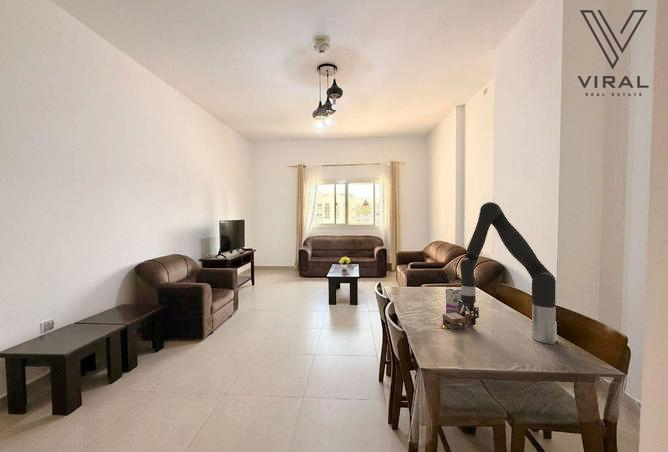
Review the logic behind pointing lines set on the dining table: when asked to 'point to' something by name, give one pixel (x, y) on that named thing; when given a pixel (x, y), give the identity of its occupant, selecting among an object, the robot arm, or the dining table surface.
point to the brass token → (444, 326)
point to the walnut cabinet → (454, 319)
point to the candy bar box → (453, 300)
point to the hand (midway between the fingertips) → (468, 322)
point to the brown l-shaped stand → (456, 325)
